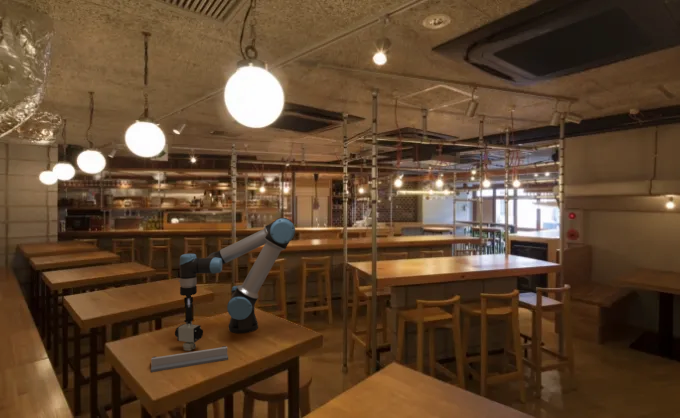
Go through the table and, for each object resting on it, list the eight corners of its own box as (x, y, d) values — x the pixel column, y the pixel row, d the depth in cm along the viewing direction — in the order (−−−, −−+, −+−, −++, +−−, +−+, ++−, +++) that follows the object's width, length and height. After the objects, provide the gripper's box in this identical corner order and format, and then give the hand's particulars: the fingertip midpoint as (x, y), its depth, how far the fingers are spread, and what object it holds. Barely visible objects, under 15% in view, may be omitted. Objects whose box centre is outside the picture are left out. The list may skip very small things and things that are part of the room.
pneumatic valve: (198, 352, 172) (197, 326, 172) (174, 350, 175) (174, 324, 174) (204, 347, 178) (204, 322, 177) (182, 345, 180) (181, 320, 180)
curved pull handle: (225, 351, 174) (225, 342, 174) (228, 359, 165) (228, 350, 165) (152, 362, 162) (152, 353, 162) (150, 372, 154) (150, 362, 153)
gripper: (180, 283, 190) (180, 330, 191) (179, 289, 178) (180, 339, 179) (196, 282, 193) (196, 328, 194) (197, 288, 181) (197, 337, 182)
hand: (189, 333), depth 186 cm, fingers closed
